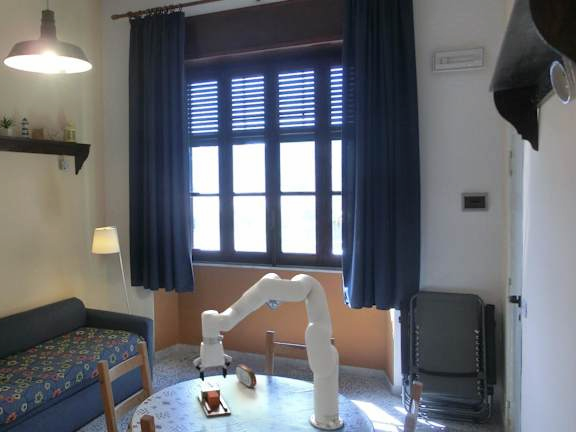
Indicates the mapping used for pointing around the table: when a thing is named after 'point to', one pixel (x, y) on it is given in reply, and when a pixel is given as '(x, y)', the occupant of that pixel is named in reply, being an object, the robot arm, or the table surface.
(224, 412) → the cradle
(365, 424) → the table surface
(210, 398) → the block
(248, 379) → the tin
